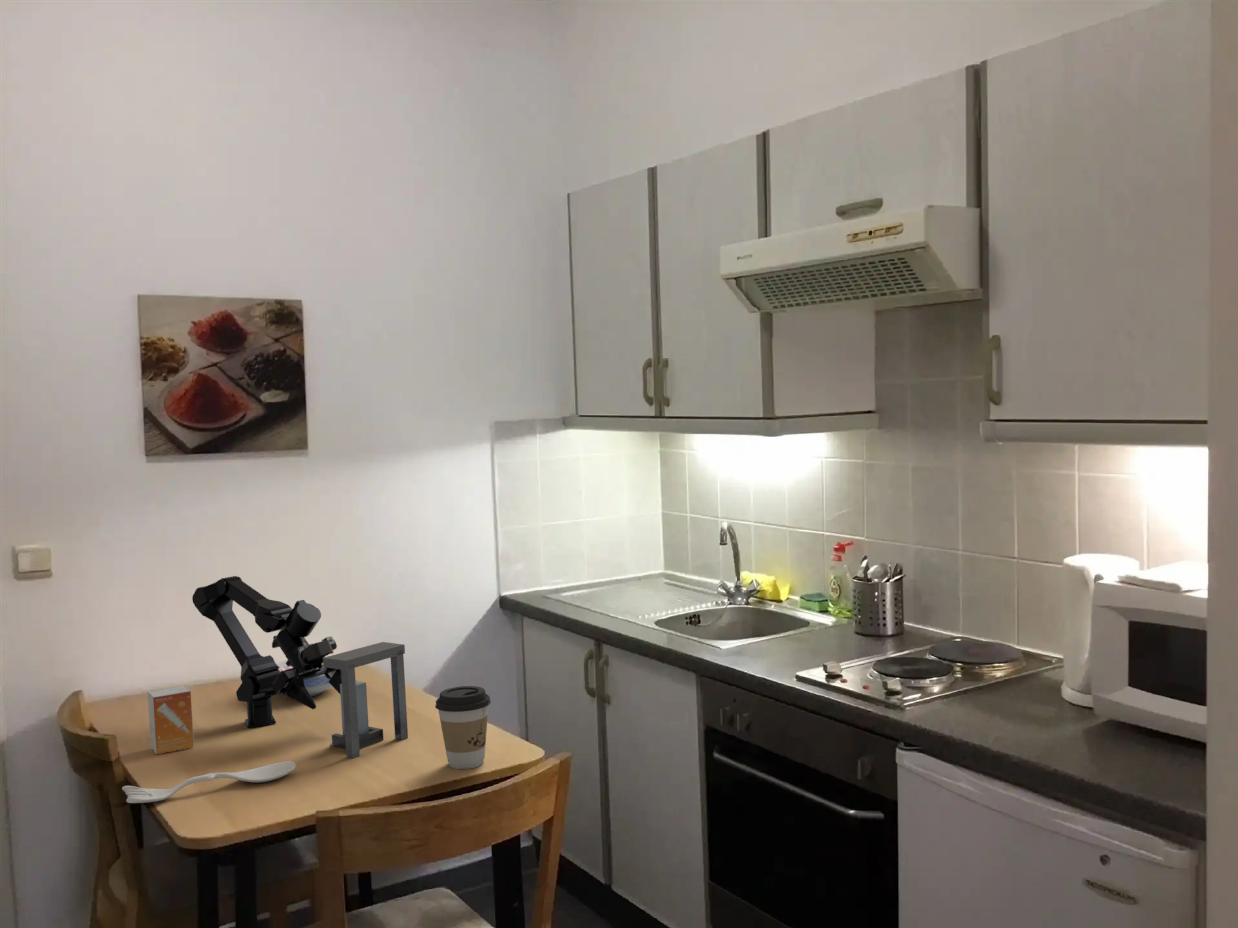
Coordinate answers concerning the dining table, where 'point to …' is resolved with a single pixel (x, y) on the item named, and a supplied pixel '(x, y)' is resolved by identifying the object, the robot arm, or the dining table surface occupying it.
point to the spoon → (250, 775)
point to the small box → (170, 719)
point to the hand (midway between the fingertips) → (331, 702)
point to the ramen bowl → (310, 681)
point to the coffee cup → (464, 725)
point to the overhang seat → (347, 667)
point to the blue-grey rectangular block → (358, 708)
